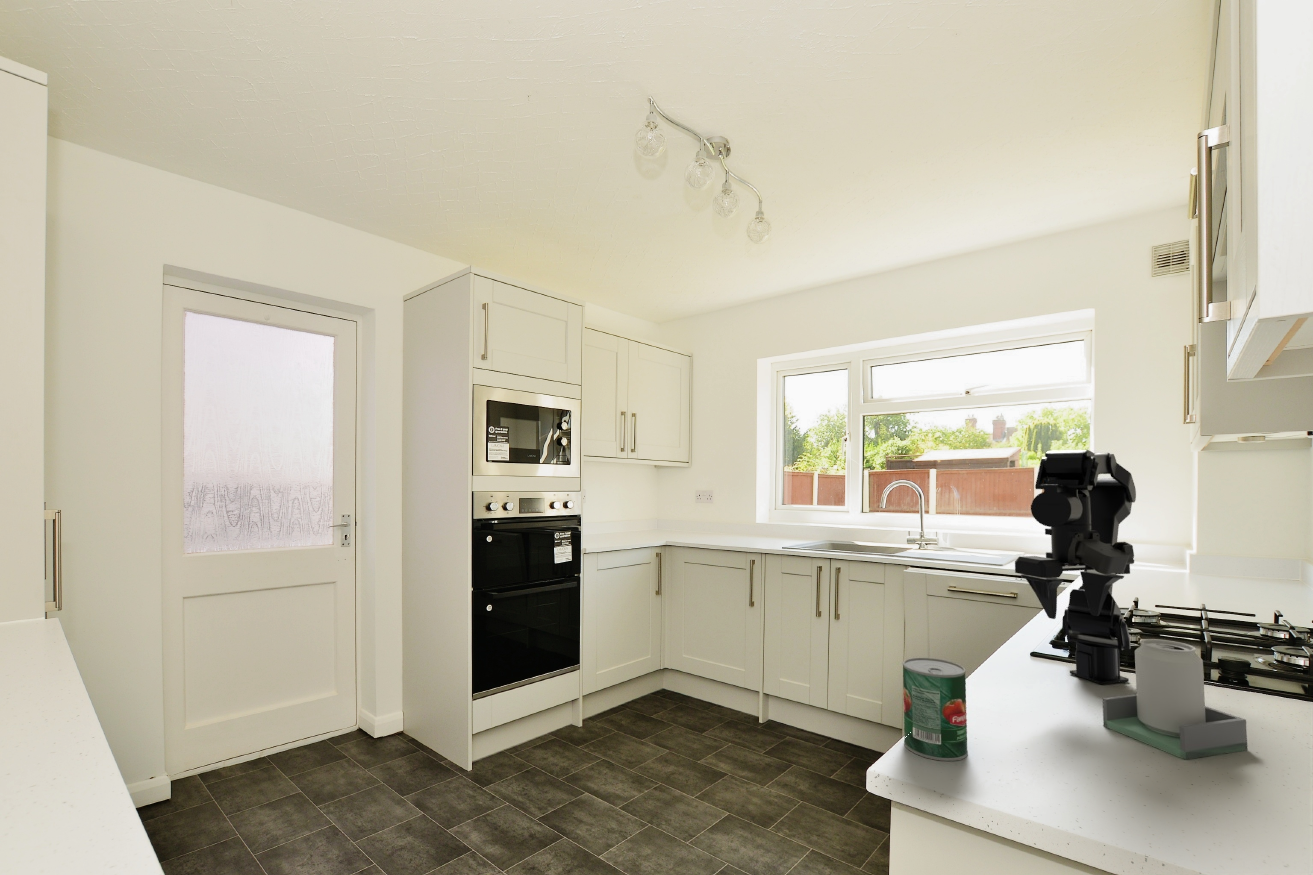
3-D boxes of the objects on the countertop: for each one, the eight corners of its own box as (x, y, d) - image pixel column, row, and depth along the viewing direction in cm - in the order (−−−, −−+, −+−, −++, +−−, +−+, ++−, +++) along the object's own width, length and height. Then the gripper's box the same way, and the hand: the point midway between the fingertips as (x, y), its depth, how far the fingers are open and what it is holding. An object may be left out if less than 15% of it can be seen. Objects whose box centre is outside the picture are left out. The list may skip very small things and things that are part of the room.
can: (1219, 736, 86) (1215, 647, 86) (1183, 744, 83) (1178, 652, 84) (1160, 716, 93) (1157, 634, 93) (1125, 722, 90) (1121, 638, 91)
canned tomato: (900, 733, 89) (899, 655, 90) (960, 739, 87) (958, 659, 88) (908, 757, 81) (906, 672, 82) (974, 764, 79) (971, 677, 80)
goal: (1160, 718, 95) (1159, 691, 95) (1247, 749, 84) (1245, 719, 84) (1103, 725, 92) (1102, 698, 92) (1185, 759, 81) (1184, 728, 81)
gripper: (1069, 529, 96) (1073, 632, 95) (1161, 526, 100) (1165, 624, 100) (1011, 523, 106) (1013, 616, 105) (1096, 521, 111) (1099, 609, 110)
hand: (1073, 616), depth 105 cm, fingers open, 9 cm apart
